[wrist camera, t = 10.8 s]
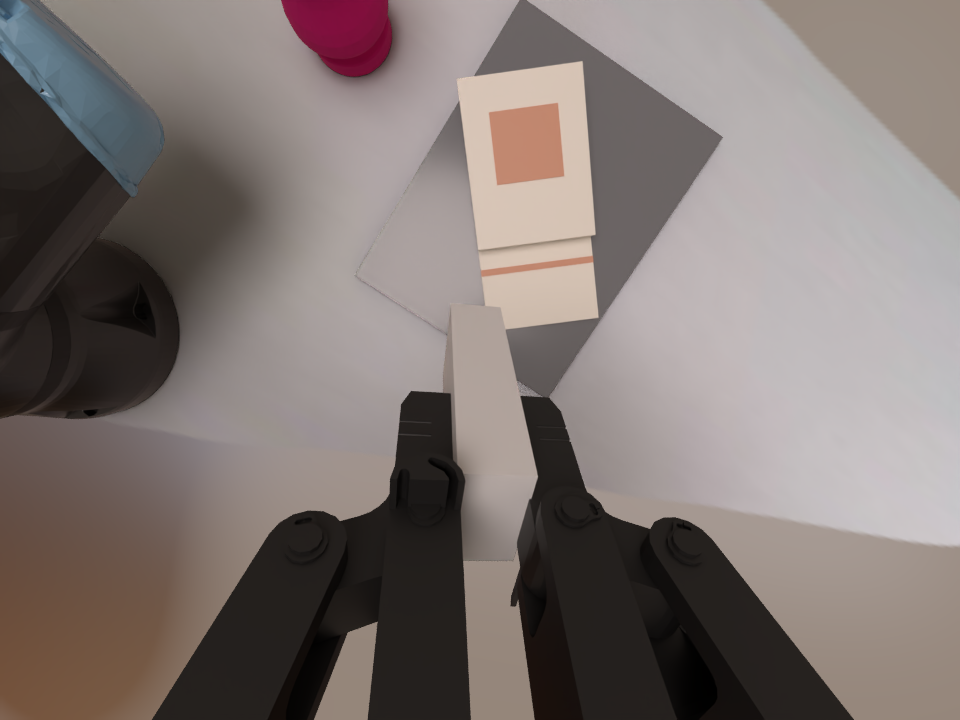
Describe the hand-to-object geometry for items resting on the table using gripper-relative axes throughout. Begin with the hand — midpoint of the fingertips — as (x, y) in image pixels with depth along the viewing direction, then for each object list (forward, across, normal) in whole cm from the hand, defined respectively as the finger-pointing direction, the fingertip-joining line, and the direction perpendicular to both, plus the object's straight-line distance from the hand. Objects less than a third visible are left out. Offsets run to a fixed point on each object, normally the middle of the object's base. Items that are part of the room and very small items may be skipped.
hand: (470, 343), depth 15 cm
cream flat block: (+23, +7, -5) cm, 25 cm away
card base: (+22, +8, -8) cm, 25 cm away
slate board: (+26, +7, -3) cm, 27 cm away
